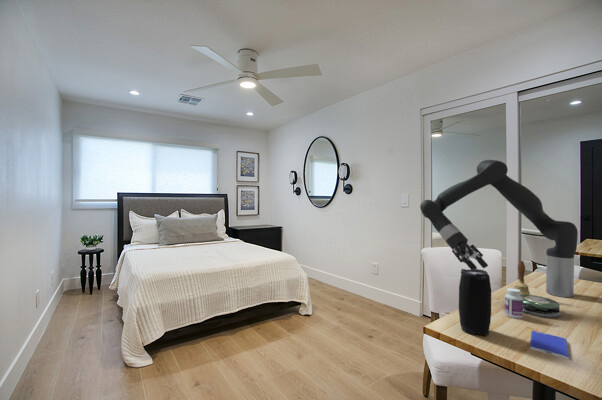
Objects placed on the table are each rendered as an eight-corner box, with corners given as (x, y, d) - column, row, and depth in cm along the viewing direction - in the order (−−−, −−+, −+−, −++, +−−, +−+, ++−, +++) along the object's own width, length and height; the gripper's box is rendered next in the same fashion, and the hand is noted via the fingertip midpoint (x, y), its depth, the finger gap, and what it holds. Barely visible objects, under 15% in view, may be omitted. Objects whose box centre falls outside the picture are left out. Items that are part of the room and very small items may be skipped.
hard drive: (531, 330, 90) (529, 345, 80) (566, 338, 84) (569, 355, 75) (531, 334, 90) (529, 350, 80) (566, 343, 84) (569, 361, 75)
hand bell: (531, 301, 117) (532, 264, 117) (507, 296, 123) (507, 260, 123) (535, 297, 123) (535, 261, 123) (512, 292, 129) (512, 258, 129)
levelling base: (512, 301, 118) (512, 291, 118) (556, 308, 110) (556, 297, 110) (515, 312, 106) (515, 301, 106) (565, 321, 98) (565, 309, 98)
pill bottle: (524, 316, 103) (524, 290, 103) (520, 320, 99) (520, 293, 99) (507, 311, 107) (507, 286, 107) (502, 315, 103) (502, 289, 103)
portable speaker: (453, 328, 92) (453, 269, 92) (469, 322, 97) (469, 266, 97) (480, 340, 85) (481, 276, 85) (496, 332, 90) (496, 272, 90)
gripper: (449, 232, 117) (478, 265, 107) (468, 230, 124) (496, 261, 114) (437, 243, 121) (464, 275, 111) (456, 240, 129) (482, 271, 119)
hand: (480, 268), depth 113 cm, fingers open, 8 cm apart
